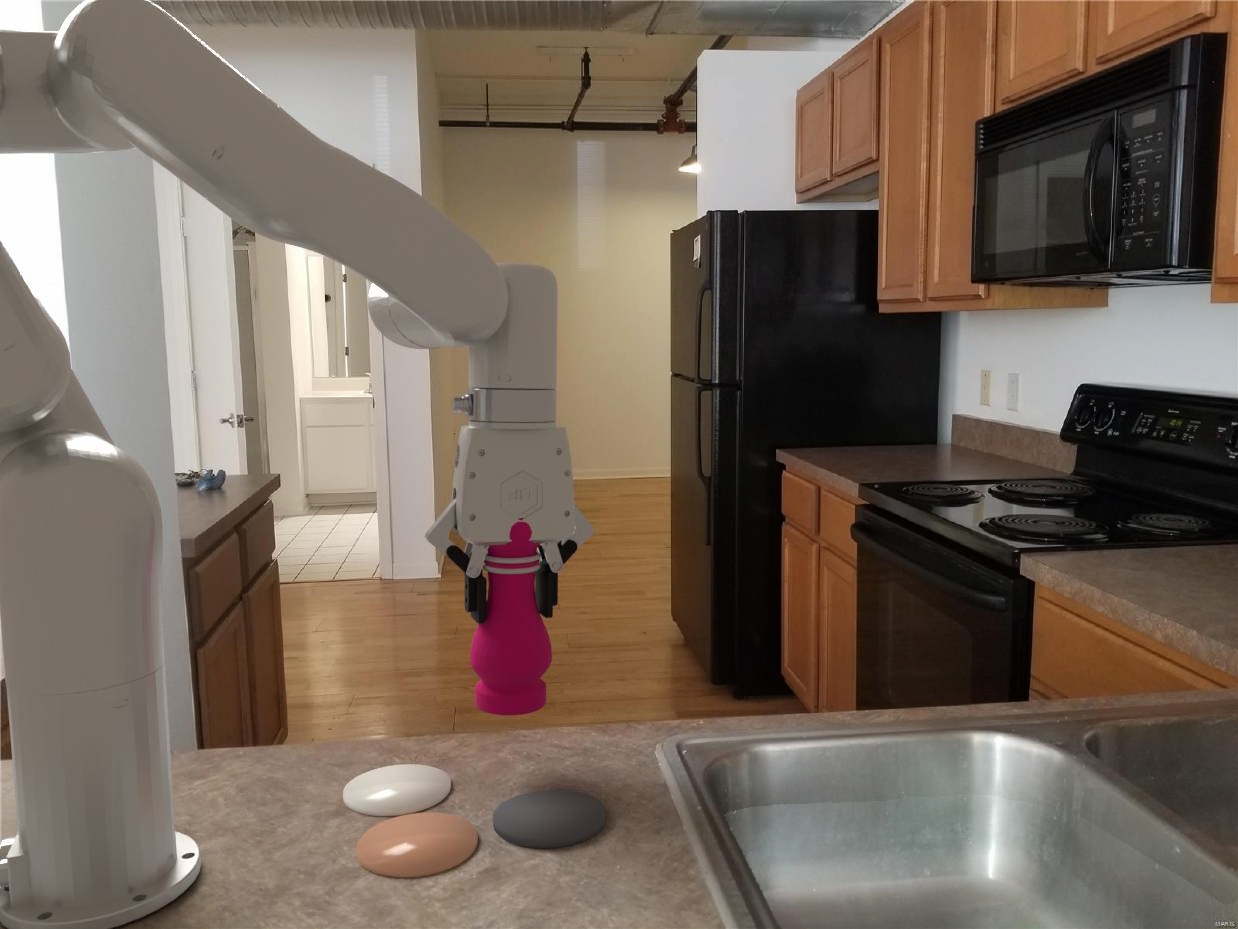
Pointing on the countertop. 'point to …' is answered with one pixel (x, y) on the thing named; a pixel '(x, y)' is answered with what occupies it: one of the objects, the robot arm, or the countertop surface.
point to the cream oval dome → (396, 790)
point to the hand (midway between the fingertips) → (511, 614)
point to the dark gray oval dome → (549, 818)
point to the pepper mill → (511, 631)
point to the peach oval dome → (416, 844)
